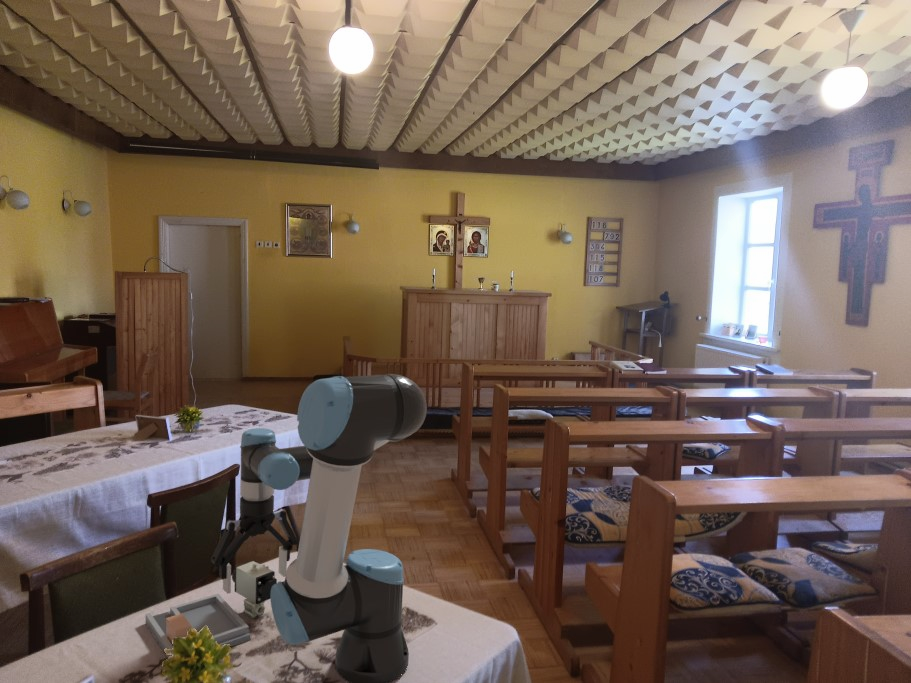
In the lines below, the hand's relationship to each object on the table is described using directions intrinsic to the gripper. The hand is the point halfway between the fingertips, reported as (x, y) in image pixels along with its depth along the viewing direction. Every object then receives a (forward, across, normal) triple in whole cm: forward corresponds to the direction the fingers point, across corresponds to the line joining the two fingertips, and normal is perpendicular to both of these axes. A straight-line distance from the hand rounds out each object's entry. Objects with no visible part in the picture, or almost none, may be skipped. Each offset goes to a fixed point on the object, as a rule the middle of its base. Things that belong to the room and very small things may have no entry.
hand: (255, 582), depth 148 cm
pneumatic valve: (+8, 0, +1) cm, 8 cm away
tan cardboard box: (+6, +19, +4) cm, 20 cm away
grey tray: (+7, +14, +1) cm, 15 cm away
